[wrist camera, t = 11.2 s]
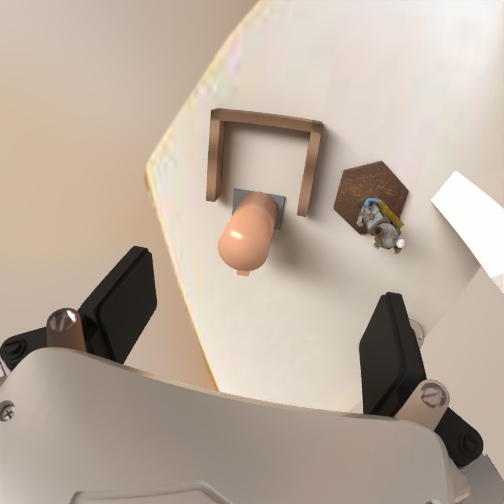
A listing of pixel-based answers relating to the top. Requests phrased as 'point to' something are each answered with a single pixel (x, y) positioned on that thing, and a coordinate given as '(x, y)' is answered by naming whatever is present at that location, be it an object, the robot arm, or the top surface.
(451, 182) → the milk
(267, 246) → the peach rounded cylinder
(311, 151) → the frame
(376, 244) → the robot figurine
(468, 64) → the top surface
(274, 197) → the mat
